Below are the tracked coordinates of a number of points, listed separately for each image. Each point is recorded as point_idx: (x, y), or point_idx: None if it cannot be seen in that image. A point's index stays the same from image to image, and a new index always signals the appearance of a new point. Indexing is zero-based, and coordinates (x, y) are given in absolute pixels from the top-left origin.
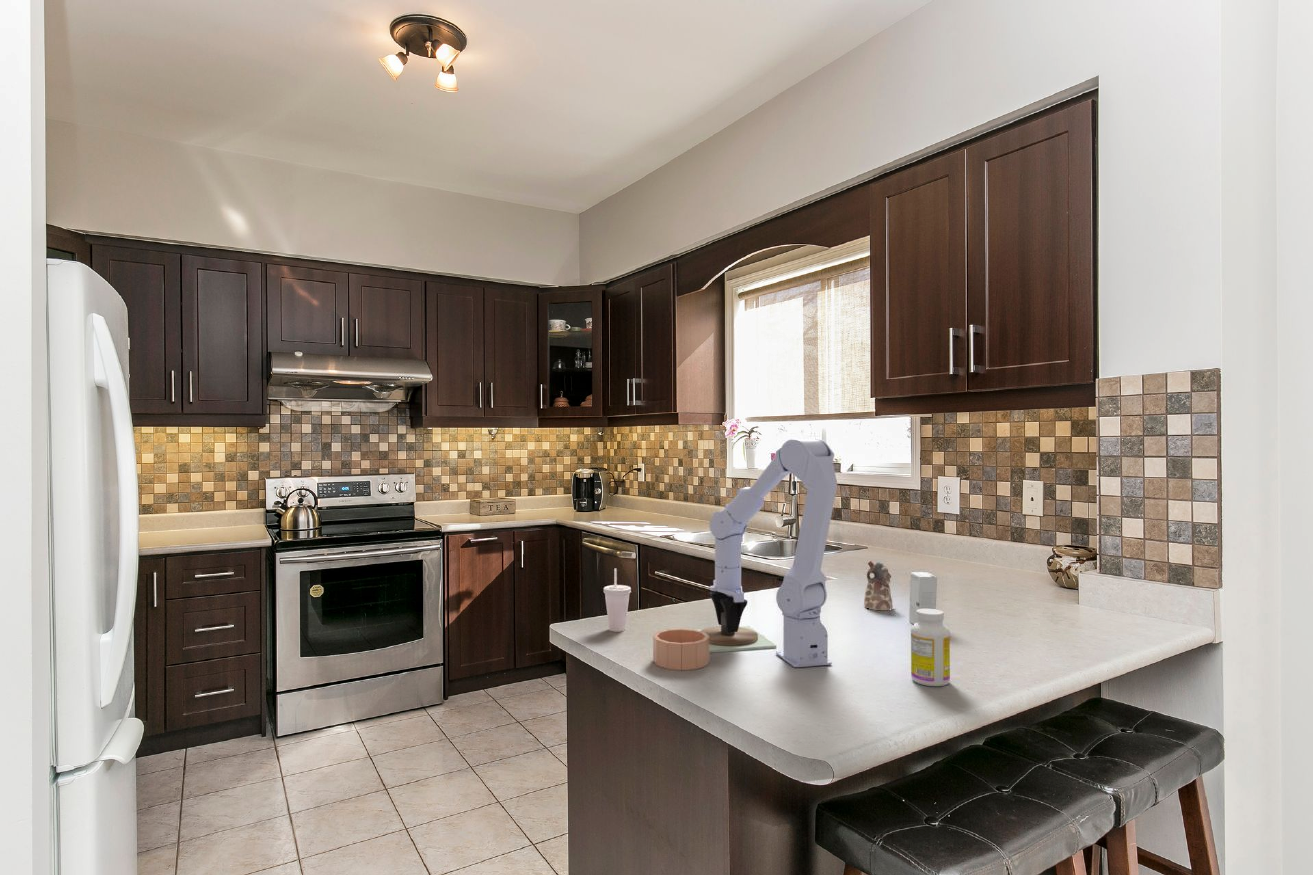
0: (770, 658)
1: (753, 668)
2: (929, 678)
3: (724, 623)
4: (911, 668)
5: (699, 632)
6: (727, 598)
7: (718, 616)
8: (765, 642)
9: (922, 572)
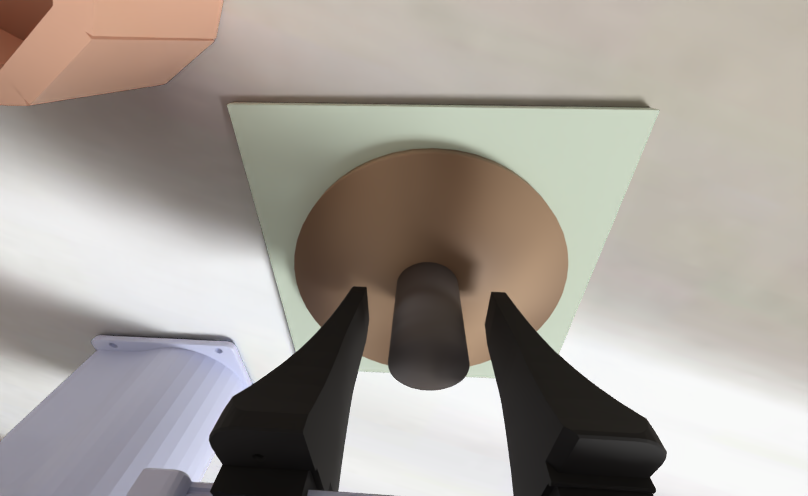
0: (188, 313)
1: (54, 231)
2: None
3: (403, 306)
4: None
5: (16, 56)
6: (522, 461)
7: (502, 320)
8: None
9: None
